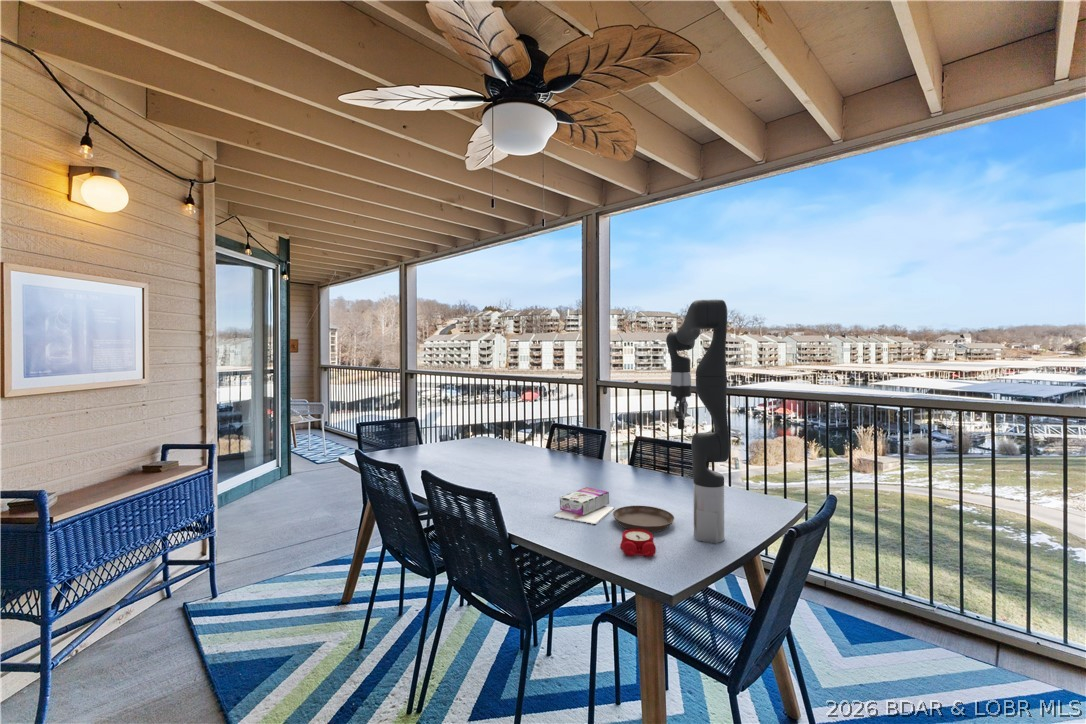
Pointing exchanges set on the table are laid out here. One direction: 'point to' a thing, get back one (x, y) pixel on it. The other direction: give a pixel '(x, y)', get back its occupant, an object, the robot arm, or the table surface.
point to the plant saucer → (643, 518)
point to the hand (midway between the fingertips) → (681, 429)
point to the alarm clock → (637, 543)
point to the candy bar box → (584, 501)
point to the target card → (587, 515)
